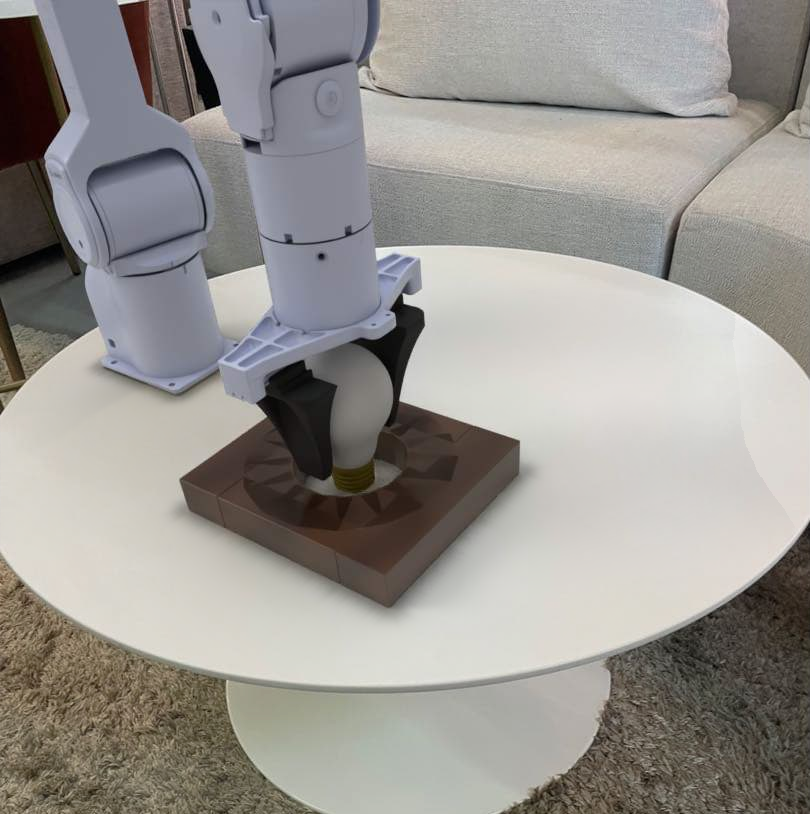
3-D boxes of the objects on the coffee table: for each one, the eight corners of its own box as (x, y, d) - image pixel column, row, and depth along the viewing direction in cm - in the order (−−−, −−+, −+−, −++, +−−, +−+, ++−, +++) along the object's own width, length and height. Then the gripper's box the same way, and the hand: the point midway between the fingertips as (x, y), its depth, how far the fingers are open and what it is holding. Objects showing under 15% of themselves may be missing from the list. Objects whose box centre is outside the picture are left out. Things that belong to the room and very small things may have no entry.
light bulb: (391, 523, 49) (375, 378, 42) (298, 516, 50) (268, 373, 43) (410, 465, 53) (398, 325, 46) (324, 459, 54) (300, 322, 47)
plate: (188, 510, 51) (178, 479, 50) (329, 405, 59) (324, 375, 58) (389, 608, 44) (384, 575, 42) (519, 472, 52) (520, 440, 50)
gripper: (274, 296, 34) (320, 536, 43) (462, 186, 42) (467, 407, 51) (163, 265, 37) (228, 494, 46) (357, 169, 46) (380, 378, 55)
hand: (348, 446), depth 49 cm, fingers closed on light bulb, 6 cm apart
